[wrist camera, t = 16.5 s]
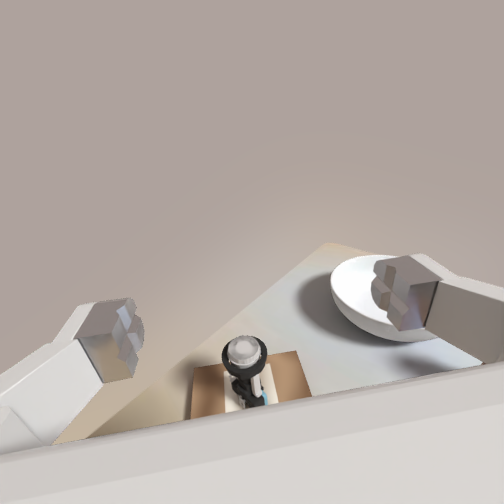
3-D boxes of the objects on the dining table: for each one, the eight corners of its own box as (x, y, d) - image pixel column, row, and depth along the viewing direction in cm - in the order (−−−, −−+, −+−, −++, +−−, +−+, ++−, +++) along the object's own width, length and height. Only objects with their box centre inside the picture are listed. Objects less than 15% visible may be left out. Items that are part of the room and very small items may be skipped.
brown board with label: (189, 480, 29) (184, 469, 28) (195, 374, 41) (192, 363, 40) (328, 452, 30) (329, 440, 29) (296, 357, 42) (296, 346, 41)
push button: (217, 393, 36) (204, 342, 32) (246, 369, 39) (238, 318, 35) (250, 429, 32) (241, 376, 27) (279, 398, 35) (276, 345, 30)
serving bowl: (473, 377, 37) (490, 342, 34) (320, 342, 44) (321, 311, 41) (442, 289, 53) (451, 260, 50) (335, 275, 61) (336, 249, 58)
